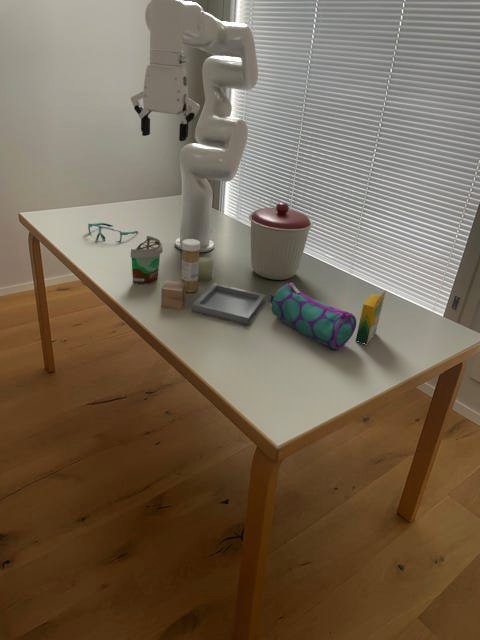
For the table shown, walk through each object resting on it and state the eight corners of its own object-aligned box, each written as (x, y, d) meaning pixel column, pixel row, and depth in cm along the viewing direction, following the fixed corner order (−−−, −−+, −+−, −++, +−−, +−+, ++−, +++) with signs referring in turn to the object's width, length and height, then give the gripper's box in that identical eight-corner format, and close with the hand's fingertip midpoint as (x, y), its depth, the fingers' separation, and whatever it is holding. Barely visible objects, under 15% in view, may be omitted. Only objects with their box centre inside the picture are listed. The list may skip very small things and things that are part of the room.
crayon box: (364, 329, 122) (374, 286, 116) (376, 333, 121) (387, 289, 115) (354, 341, 116) (364, 296, 111) (366, 345, 115) (377, 300, 109)
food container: (153, 289, 130) (153, 253, 126) (130, 285, 131) (130, 249, 127) (168, 272, 141) (169, 238, 136) (147, 268, 142) (147, 235, 137)
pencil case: (264, 319, 122) (269, 283, 117) (289, 310, 128) (294, 275, 123) (330, 357, 109) (339, 319, 104) (355, 346, 114) (363, 308, 110)
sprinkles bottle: (193, 285, 135) (196, 237, 129) (200, 292, 132) (203, 243, 125) (177, 286, 133) (179, 238, 127) (183, 294, 130) (186, 245, 123)
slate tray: (213, 289, 134) (214, 282, 133) (265, 301, 130) (265, 294, 129) (191, 311, 122) (192, 304, 121) (247, 325, 118) (248, 318, 117)
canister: (315, 275, 149) (327, 205, 139) (280, 291, 137) (291, 216, 127) (267, 257, 159) (275, 191, 149) (230, 271, 146) (237, 199, 136)
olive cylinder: (198, 272, 143) (199, 255, 141) (214, 275, 142) (215, 259, 140) (191, 278, 139) (191, 261, 137) (207, 282, 138) (208, 265, 135)
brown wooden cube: (165, 298, 127) (165, 280, 124) (184, 300, 127) (185, 282, 124) (161, 307, 122) (161, 288, 120) (181, 309, 122) (182, 291, 120)
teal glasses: (80, 237, 160) (80, 221, 158) (108, 229, 173) (108, 215, 171) (117, 246, 156) (118, 230, 154) (143, 238, 169) (144, 223, 167)
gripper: (206, 64, 117) (202, 140, 125) (138, 56, 121) (138, 131, 128) (196, 64, 111) (192, 144, 119) (124, 55, 114) (125, 134, 122)
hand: (164, 137), depth 124 cm, fingers open, 9 cm apart
